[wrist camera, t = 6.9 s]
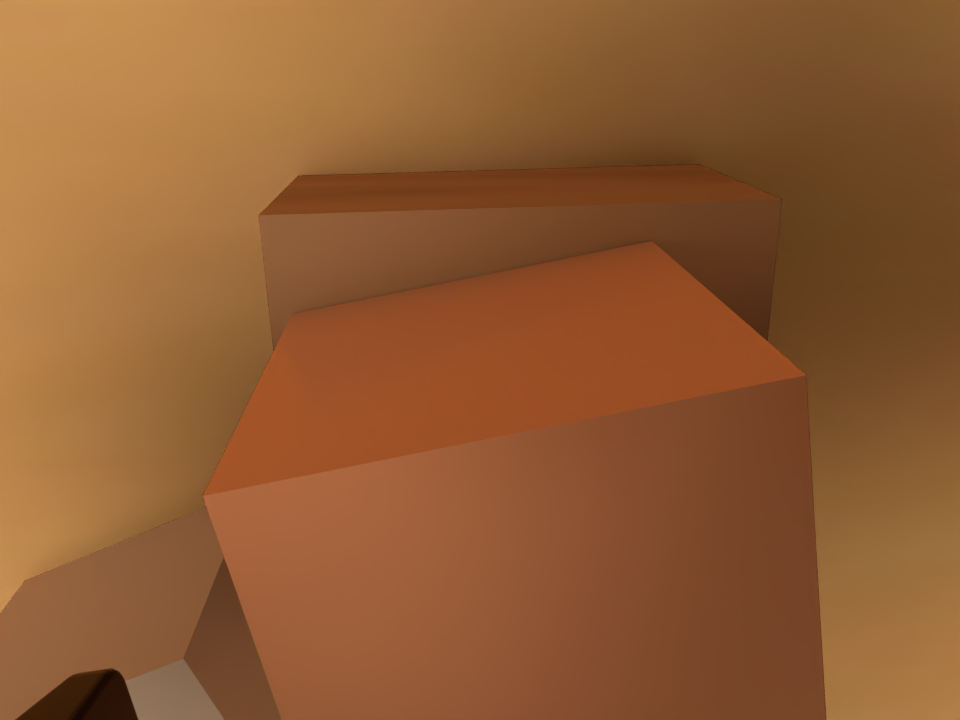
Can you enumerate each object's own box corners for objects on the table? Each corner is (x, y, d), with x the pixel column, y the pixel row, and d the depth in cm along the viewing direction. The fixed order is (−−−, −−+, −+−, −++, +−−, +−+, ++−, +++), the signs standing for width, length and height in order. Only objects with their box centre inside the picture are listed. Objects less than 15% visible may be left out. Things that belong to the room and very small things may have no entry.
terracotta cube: (689, 549, 13) (831, 822, 9) (377, 611, 13) (350, 916, 9) (652, 240, 12) (806, 374, 7) (292, 313, 12) (203, 494, 7)
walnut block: (671, 505, 18) (737, 628, 14) (332, 521, 17) (307, 652, 14) (694, 162, 15) (781, 199, 12) (300, 173, 15) (258, 215, 11)
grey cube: (359, 674, 18) (337, 888, 14) (153, 753, 19) (63, 988, 14) (251, 487, 17) (183, 658, 12) (26, 578, 17) (-125, 778, 12)
